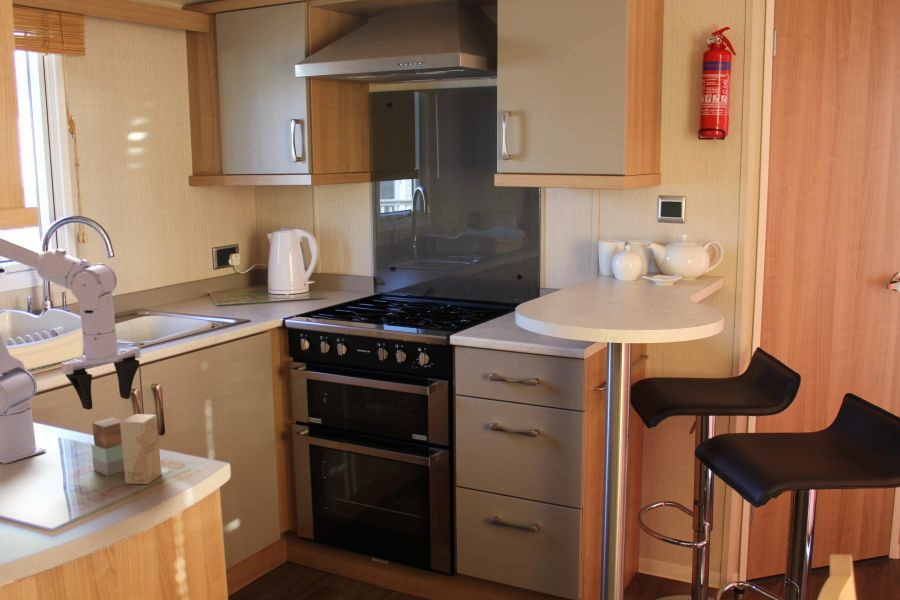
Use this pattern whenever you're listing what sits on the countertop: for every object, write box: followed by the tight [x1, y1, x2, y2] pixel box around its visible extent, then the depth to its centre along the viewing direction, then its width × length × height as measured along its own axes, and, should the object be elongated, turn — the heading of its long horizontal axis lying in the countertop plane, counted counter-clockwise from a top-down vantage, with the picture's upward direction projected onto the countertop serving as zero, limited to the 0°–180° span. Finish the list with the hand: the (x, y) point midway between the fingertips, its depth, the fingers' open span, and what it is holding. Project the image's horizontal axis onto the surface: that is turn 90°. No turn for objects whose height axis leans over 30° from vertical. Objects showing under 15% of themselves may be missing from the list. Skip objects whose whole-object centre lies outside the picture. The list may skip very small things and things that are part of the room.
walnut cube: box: [91, 417, 124, 449], centre depth 160 cm, size 4×4×4 cm
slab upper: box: [91, 443, 123, 464], centre depth 161 cm, size 5×5×2 cm
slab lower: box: [92, 457, 125, 476], centre depth 161 cm, size 5×5×2 cm
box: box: [120, 413, 162, 485], centre depth 155 cm, size 5×4×11 cm
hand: (106, 403), depth 166 cm, fingers open, 7 cm apart
